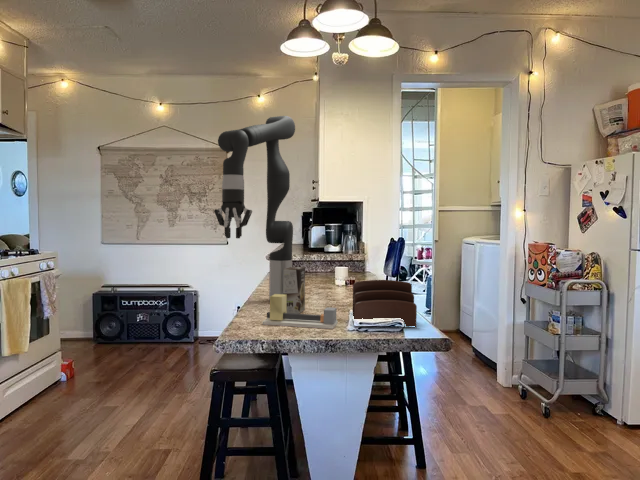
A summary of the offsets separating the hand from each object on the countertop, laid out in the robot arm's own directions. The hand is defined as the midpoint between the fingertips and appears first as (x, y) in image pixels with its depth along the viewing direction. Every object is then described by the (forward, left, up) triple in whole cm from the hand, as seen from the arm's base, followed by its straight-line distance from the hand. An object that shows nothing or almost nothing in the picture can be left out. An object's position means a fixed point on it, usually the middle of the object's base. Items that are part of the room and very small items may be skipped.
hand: (233, 238), depth 158 cm
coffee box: (-12, +19, -27) cm, 35 cm away
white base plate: (+7, +27, -27) cm, 39 cm away
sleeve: (+7, +19, -26) cm, 33 cm away
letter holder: (0, +53, -28) cm, 59 cm away
